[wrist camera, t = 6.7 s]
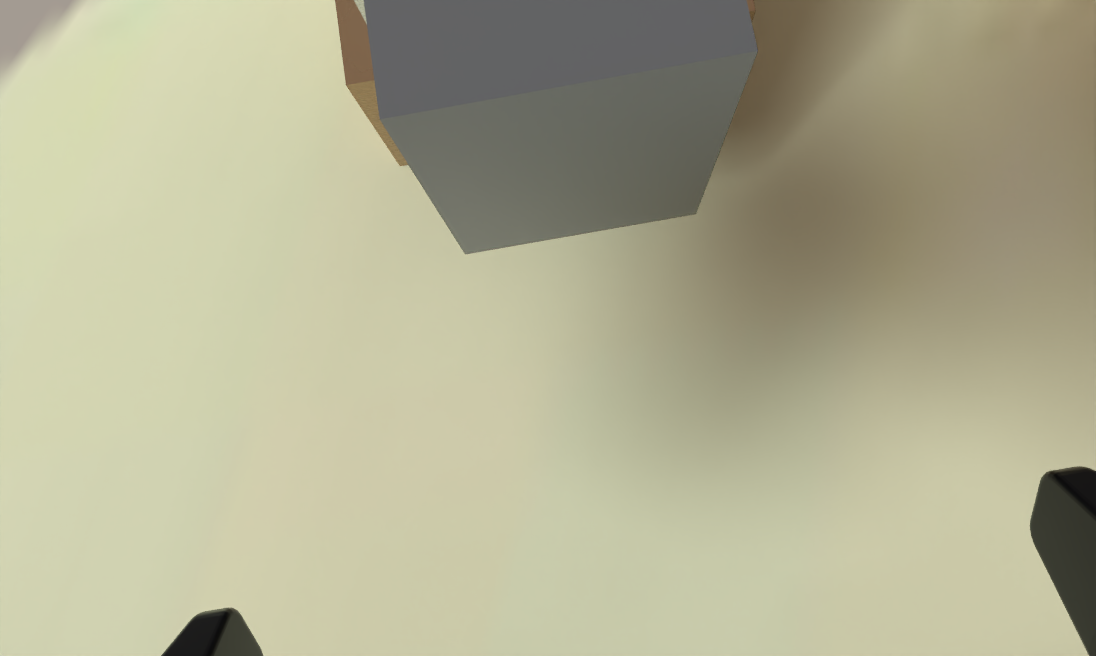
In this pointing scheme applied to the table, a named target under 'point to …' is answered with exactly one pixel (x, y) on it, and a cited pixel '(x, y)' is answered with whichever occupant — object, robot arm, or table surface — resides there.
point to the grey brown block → (361, 64)
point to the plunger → (558, 108)
